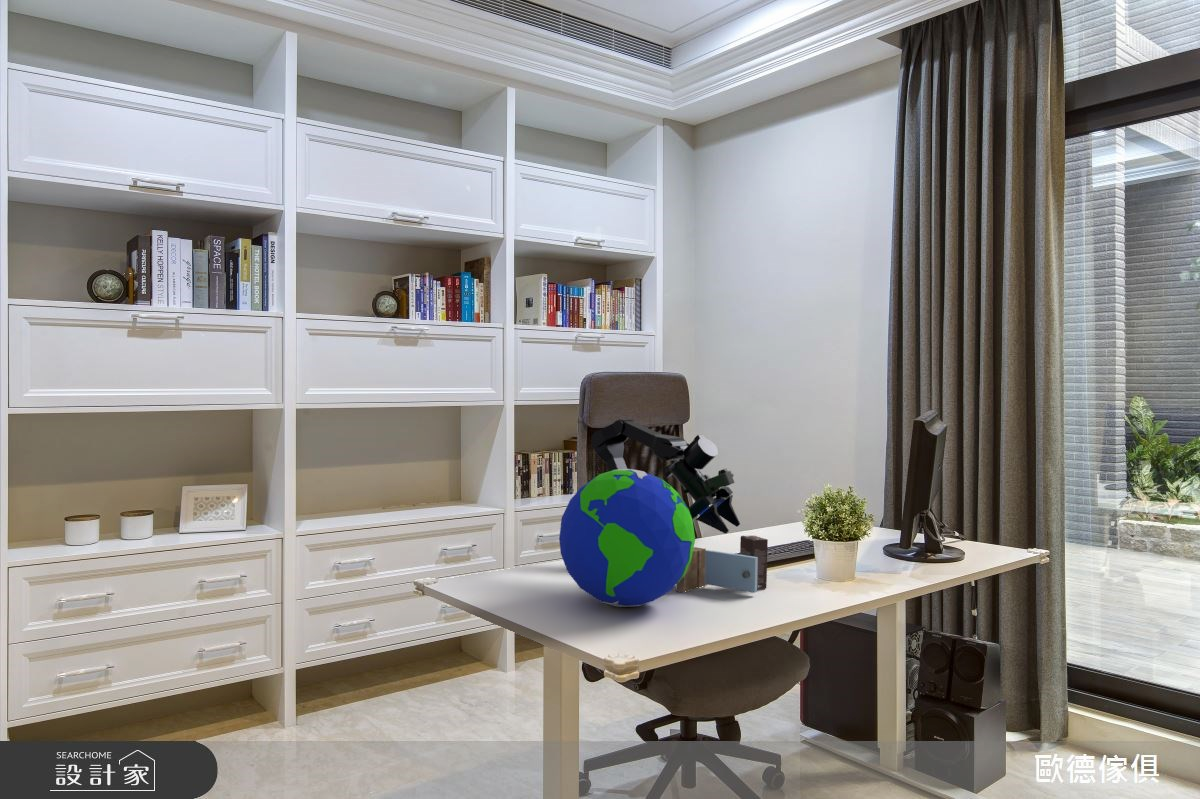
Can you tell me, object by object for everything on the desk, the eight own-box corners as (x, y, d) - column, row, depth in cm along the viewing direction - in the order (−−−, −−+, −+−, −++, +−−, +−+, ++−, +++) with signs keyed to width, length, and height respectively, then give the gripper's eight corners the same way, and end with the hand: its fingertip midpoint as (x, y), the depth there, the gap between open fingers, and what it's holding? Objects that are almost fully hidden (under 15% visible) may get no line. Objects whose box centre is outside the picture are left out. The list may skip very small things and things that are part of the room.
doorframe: (685, 593, 192) (686, 554, 192) (674, 591, 194) (675, 552, 194) (731, 576, 210) (732, 541, 209) (721, 574, 211) (721, 539, 211)
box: (767, 589, 197) (768, 538, 197) (751, 590, 195) (752, 540, 195) (753, 583, 203) (754, 534, 202) (738, 584, 201) (738, 535, 201)
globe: (545, 620, 168) (547, 474, 168) (570, 585, 198) (572, 461, 197) (692, 628, 164) (694, 478, 164) (695, 591, 194) (697, 464, 193)
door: (702, 585, 196) (702, 551, 196) (707, 583, 198) (707, 549, 198) (752, 593, 188) (753, 558, 188) (757, 591, 190) (757, 557, 190)
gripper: (702, 463, 194) (745, 515, 190) (726, 455, 211) (767, 502, 207) (669, 492, 198) (712, 544, 194) (696, 482, 215) (735, 529, 211)
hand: (733, 528), depth 201 cm, fingers open, 9 cm apart
